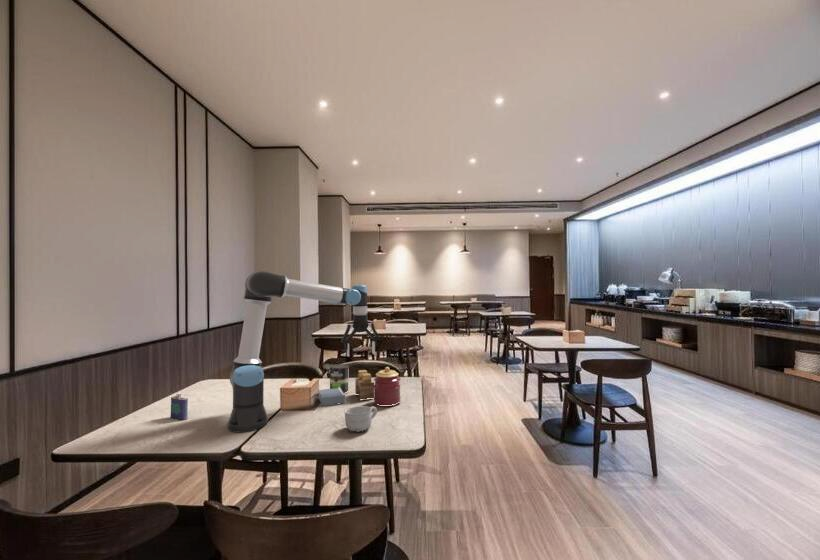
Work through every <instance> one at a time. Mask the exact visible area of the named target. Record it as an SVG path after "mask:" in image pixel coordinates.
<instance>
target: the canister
mask: <svg viewBox="0 0 820 560" xmlns="http://www.w3.org/2000/svg"><path fill="white" fill-rule="evenodd" d="M399 374H400V373H398V372H397V371H396V370H394V369H390V366H386V367H384V369H381V370H379V371H378V372H376V373H375V377H374V379H373V382H374V400H373V402H374V404H375V403H376V404H379V405H392V404H396V403H398V402H400V403H401V384H400V381H401V378H400V376H399ZM376 404H375V405H376Z"/></svg>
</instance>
